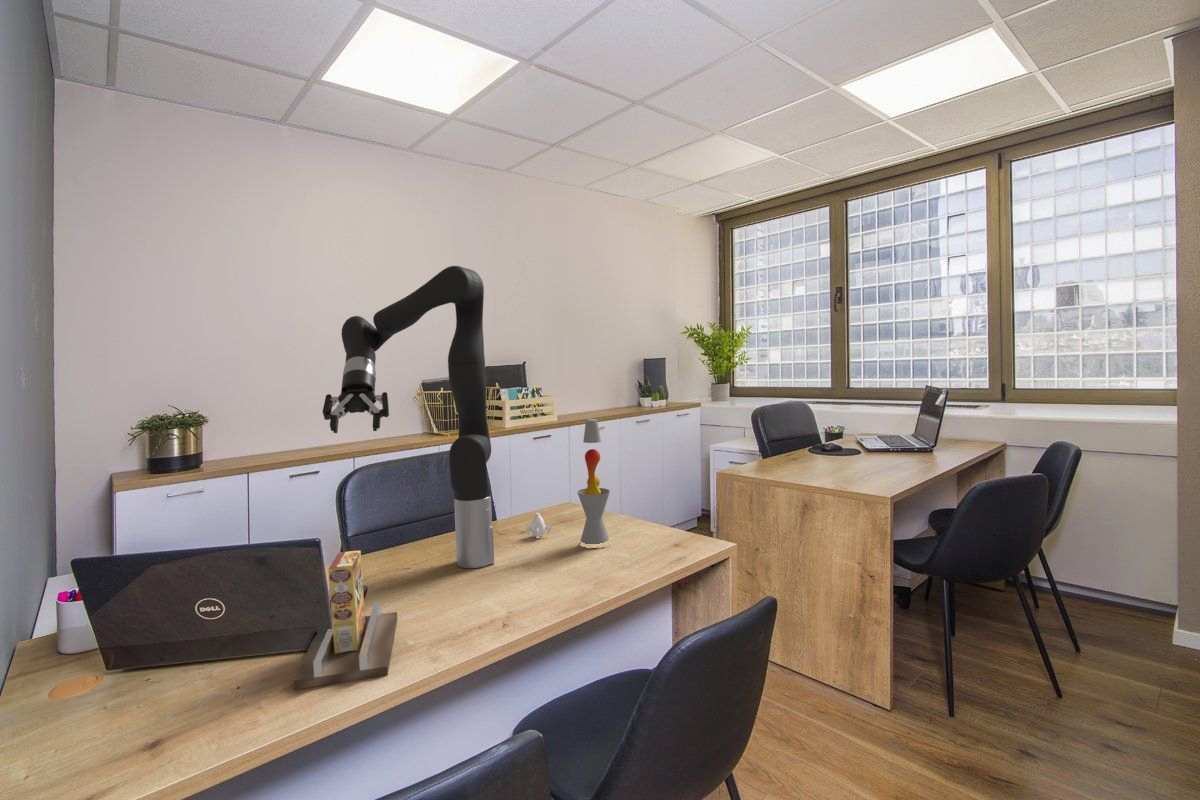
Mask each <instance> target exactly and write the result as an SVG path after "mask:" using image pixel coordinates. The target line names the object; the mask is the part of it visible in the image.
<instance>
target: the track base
mask: <svg viewBox="0 0 1200 800" xmlns="http://www.w3.org/2000/svg"><path fill="white" fill-rule="evenodd" d="M381 604H382V603H381V601H378V602H377V601H376V602H373V606H372V609H371V612H370V615H365V625H366V629H365V632H364V635H363V638H362V641H361V644H360V646H359V649H358V650H357V651H349V652H342V653H336V654H335V653H334V638H333V625H332V629H328V630H327V632H326V634H325V637H324V639H323V641H322V642H312V641H311V643H310V645H309V647H308V649H307V651H306V654H305V656H304V658H303V659H302V662H301V664H300V667H299V668H298V670H297V673H296V675H295V677H294V678H293V690H294V691H296V690H297V691H298V690H303V689H307V688H315V687H321V686H327V685H333V684H339V683H345V682H352V681H357V680H365V679H371V677H372V678H377V677H383V676H384V675H385V676H388V675H389V670H390V664H391V660H392V659H391V657H392V654H393V652H392V651H393V648H394V647H393V646H394V640H395V635H396V630H397V623H398V612H397V611H394V612H388V613H382V605H381Z"/></svg>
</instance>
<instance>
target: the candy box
mask: <svg viewBox="0 0 1200 800" xmlns="http://www.w3.org/2000/svg"><path fill="white" fill-rule="evenodd" d="M361 551H362V550H353V551H352V550H349V551H341V552H340V551H339V552H338V553H337V555H336V556H335V558H334V560H333V561H332V563H331V564H330V566H329V567H328V581H329V582H328V583H329V592H330V593H329V596H330V597H329V598H330V608H331V621H332V625H333V638H334V653H335V654H336V653H342V652H349V651H357V650H358V649H359V646H360V644H361V641H362V638H363V635H364V632H365V629H366V625H365V616H366V614H365V613H366V612H365V598H364V583H363V573H362V572H363V569H362V555H361V554H362V552H361Z"/></svg>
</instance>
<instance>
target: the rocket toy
mask: <svg viewBox="0 0 1200 800" xmlns="http://www.w3.org/2000/svg"><path fill="white" fill-rule="evenodd" d="M540 514H541V513H540V512H538V511H536V513H535V514H534V517H533V518H532V520H531V523H530V524H531V525H529V526H525V527H524V529H525V532H526V534H527V536H528V535H529V536H530V533H529V531H530V532H531V534H532V536H533V537H534V536H537V537H538V536H540V535H543V534H545V531H546V530H547V534H548V533H549V534H550V531H551V529H552V526H551V525H546V524H545V520H544V519H543V517H542V515H540ZM543 536H544V535H543Z"/></svg>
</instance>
